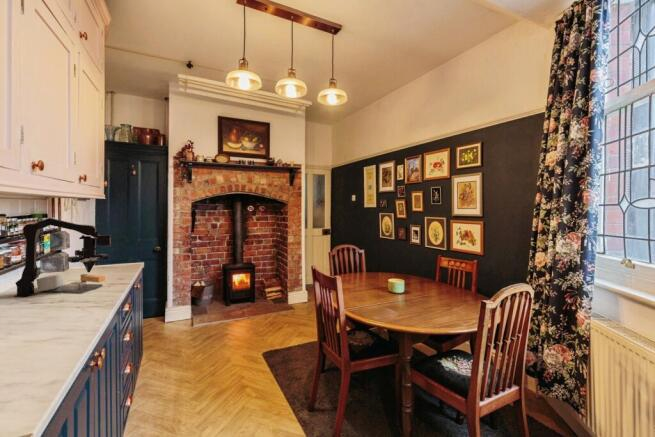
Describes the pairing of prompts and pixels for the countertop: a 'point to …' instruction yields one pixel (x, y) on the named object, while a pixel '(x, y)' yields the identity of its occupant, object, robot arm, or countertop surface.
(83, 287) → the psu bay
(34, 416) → the countertop surface
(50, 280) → the supplement box
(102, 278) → the swing arm
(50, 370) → the countertop surface
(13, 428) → the countertop surface
